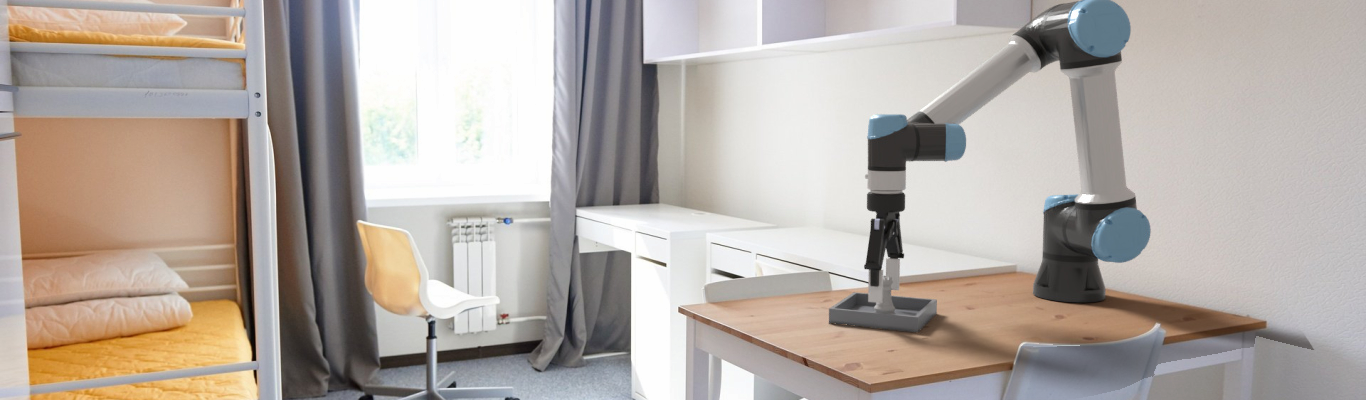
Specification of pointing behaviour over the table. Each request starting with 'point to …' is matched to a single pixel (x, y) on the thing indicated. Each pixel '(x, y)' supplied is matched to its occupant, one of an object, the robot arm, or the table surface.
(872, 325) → the tray
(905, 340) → the table surface
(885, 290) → the rook chess piece
